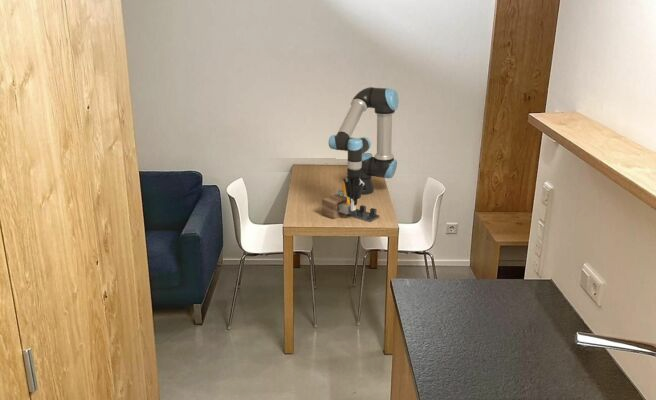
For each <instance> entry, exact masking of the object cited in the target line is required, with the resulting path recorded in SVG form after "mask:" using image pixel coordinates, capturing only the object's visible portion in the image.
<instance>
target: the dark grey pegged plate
mask: <svg viewBox="0 0 656 400" xmlns="http://www.w3.org/2000/svg"><path fill="white" fill-rule="evenodd" d="M369 210H370V211H367V206H366V205H363V204H362V205H359V209H358V208H356V210H354V211H352V213H350V214H345V215H346V216H348V217H351V218H355V219H358V220H361V221H365V222H368V223H372V222H373V221H376V220H377V219H380V215H379V214H377V208H373V207H371V208H370V209H369Z"/></svg>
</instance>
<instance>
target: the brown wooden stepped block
mask: <svg viewBox="0 0 656 400" xmlns="http://www.w3.org/2000/svg"><path fill="white" fill-rule="evenodd" d="M340 195H341V194H340ZM340 195H337V193H335V194H333V195H331V196H328V197H326V198H323V199H321V200H322V202H321V216H322V217H325V218H327V219H331V220H336V219H338V218H340V217H342V216H344V215H346V214H345V213H341V212H338V211H337V203H339V202H343V203H347V197H344V196H342V195H341V196H340Z"/></svg>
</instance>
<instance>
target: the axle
mask: <svg viewBox="0 0 656 400" xmlns="http://www.w3.org/2000/svg"><path fill="white" fill-rule="evenodd" d="M337 211H338V212H341V213H345V214H344V215H346V214H350V213H352V211H351V204H347V203H343V202H339V203H337Z"/></svg>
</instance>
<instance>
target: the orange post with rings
mask: <svg viewBox="0 0 656 400" xmlns="http://www.w3.org/2000/svg"><path fill="white" fill-rule="evenodd" d="M336 194H337V195H340V196H344V197H347V194H346V188H345V183H344V181H343V180H342V189H339V190H338V192H337V193H336ZM347 204H350V198H349V197H347Z"/></svg>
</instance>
